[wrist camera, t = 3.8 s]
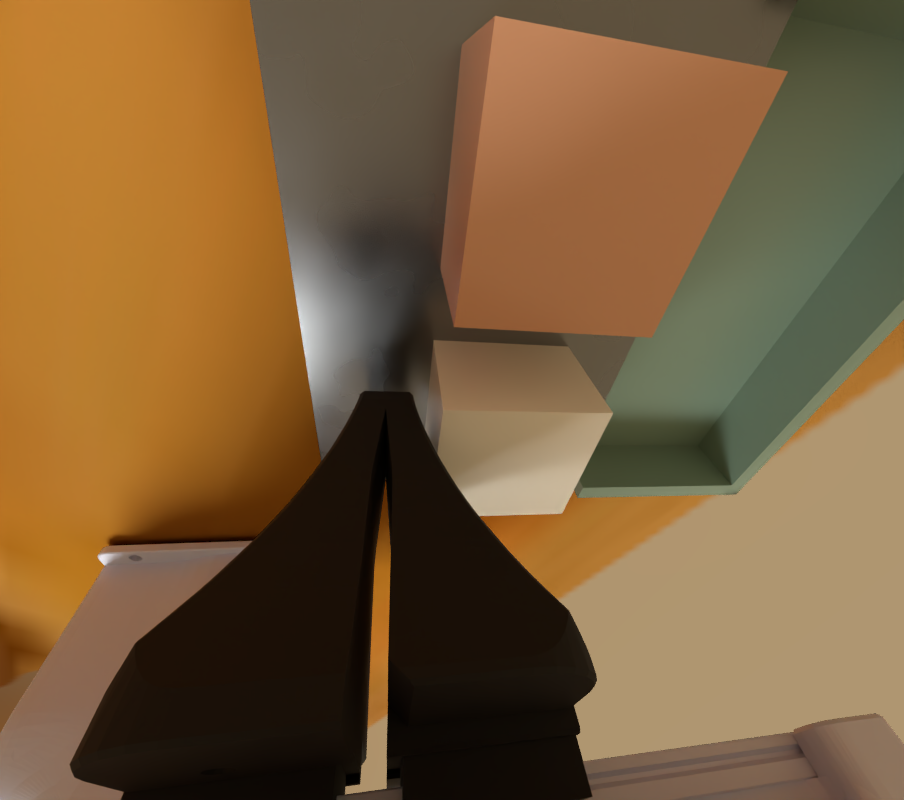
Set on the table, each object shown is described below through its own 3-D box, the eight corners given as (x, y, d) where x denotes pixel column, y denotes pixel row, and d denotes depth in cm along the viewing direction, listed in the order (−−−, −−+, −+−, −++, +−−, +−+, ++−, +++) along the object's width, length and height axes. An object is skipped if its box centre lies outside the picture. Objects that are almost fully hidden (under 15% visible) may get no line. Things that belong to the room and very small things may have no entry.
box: (556, 449, 16) (577, 497, 14) (759, -33, 7) (884, -79, 5) (698, 450, 17) (735, 494, 15) (1019, 29, 9) (1199, 10, 7)
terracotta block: (440, 268, 9) (454, 327, 7) (462, 44, 7) (495, 15, 4) (592, 280, 10) (652, 337, 7) (663, 80, 7) (788, 71, 5)
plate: (330, 449, 15) (324, 479, 13) (252, -154, 6) (216, -214, 5) (556, 449, 16) (568, 477, 15) (759, -33, 7) (825, -57, 6)
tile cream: (423, 441, 13) (429, 517, 10) (433, 340, 10) (443, 410, 8) (534, 442, 13) (561, 513, 11) (568, 346, 11) (613, 413, 9)
